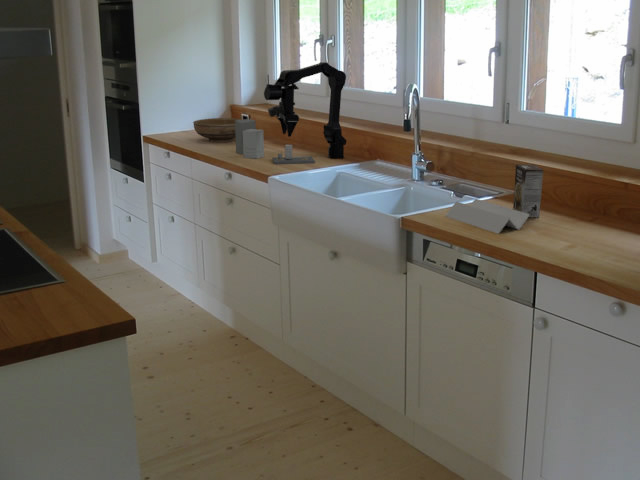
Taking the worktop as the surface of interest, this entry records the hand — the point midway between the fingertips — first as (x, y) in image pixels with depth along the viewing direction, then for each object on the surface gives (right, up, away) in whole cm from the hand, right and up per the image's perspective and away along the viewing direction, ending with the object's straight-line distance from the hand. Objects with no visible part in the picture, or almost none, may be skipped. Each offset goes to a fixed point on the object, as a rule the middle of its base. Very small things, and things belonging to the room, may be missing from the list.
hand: (286, 135), depth 349 cm
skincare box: (-21, -5, +29) cm, 36 cm away
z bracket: (+68, -41, -97) cm, 126 cm away
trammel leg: (+1, -10, +6) cm, 11 cm away
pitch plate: (+3, -11, +7) cm, 13 cm away
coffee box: (+83, -38, -88) cm, 127 cm away
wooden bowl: (-37, +6, +66) cm, 76 cm away
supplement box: (-16, -8, +18) cm, 25 cm away
